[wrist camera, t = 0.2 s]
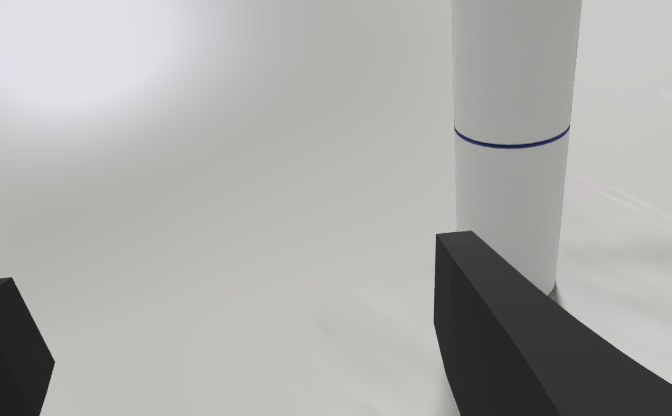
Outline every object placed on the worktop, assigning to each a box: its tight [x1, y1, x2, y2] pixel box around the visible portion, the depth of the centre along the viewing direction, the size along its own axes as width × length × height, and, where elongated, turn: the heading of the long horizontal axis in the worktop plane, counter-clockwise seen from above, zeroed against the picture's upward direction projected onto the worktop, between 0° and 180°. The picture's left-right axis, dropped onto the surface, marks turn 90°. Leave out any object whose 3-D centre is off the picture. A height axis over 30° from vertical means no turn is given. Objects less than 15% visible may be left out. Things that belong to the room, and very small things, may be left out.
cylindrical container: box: [452, 0, 582, 296], centre depth 35 cm, size 7×7×25 cm
